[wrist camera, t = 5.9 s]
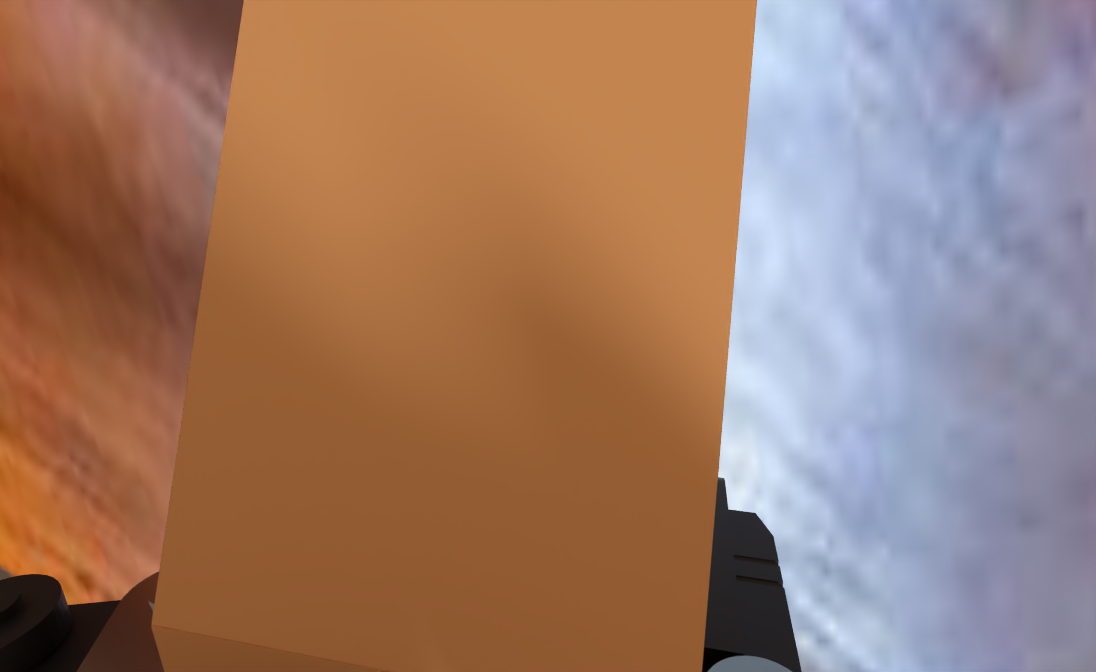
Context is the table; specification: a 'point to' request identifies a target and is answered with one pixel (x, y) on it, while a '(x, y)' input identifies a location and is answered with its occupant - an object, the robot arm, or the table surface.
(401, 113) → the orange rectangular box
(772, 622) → the robot arm
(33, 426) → the table surface
